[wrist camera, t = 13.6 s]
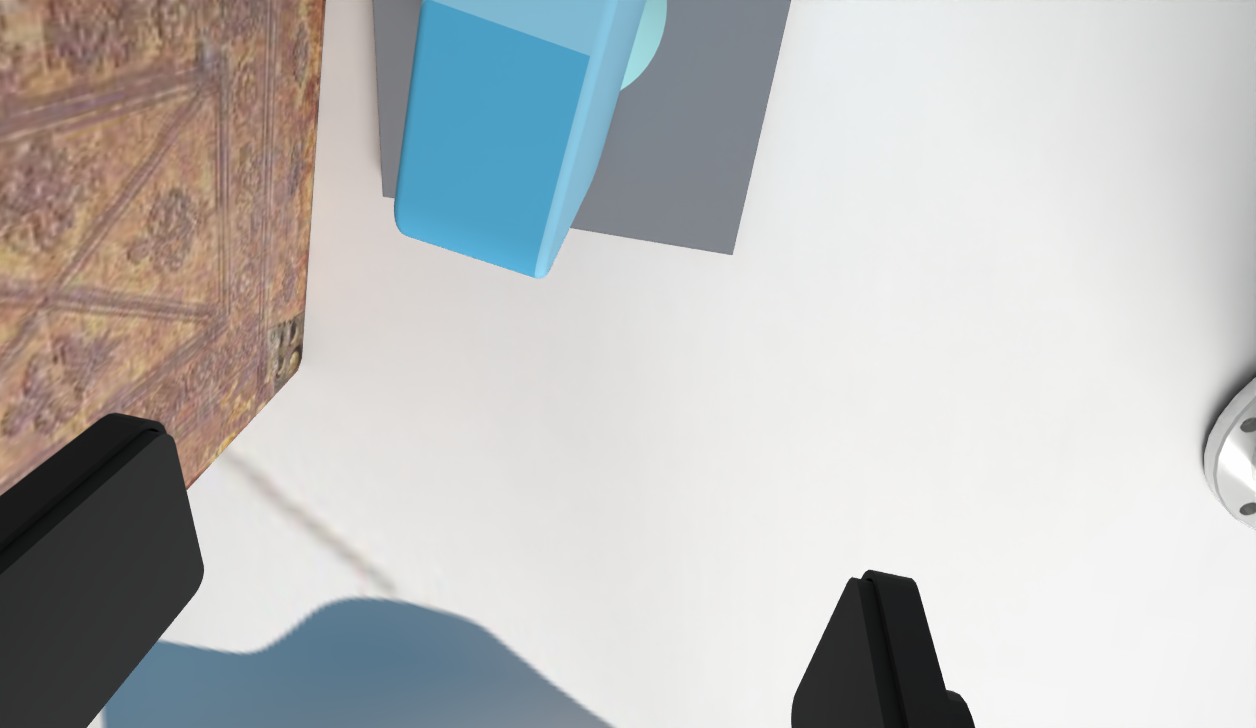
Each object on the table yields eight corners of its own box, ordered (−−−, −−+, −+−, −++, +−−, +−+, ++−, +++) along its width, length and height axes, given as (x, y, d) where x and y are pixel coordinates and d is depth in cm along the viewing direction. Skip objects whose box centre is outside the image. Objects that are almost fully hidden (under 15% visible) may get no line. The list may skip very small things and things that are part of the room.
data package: (564, -201, 24) (455, -287, 14) (691, -153, 25) (672, -204, 14) (494, 140, 31) (384, 250, 20) (596, 175, 31) (537, 300, 21)
